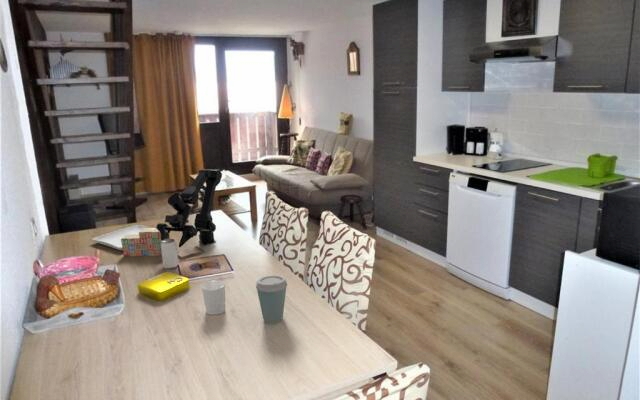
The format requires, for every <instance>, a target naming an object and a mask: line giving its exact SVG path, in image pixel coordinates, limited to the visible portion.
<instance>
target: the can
mask: <svg viewBox="0 0 640 400" xmlns="http://www.w3.org/2000/svg"><path fill="white" fill-rule="evenodd" d="M161 242H162V243H161V251H162V256H161V257H162V262H163V263H162V264H163V268H165V269H175V268H177V267H178V266H179V257H178V255H177V252H178V247H177V243H176V241H175V239H174V238H170V239H165V240H163V241H161ZM177 265H178V266H177Z"/></svg>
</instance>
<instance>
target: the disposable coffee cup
mask: <svg viewBox="0 0 640 400" xmlns="http://www.w3.org/2000/svg"><path fill="white" fill-rule="evenodd" d="M287 287H288V282H287V279H286V277H284V276H282V275H275V274H273V275H265V276H262V277H260V278H259V279H258V280H257V281H256V282H255V289H256V291H257V295H258V296H257V297H258V300H259V306H260V310H261V315H262V319H263V322H265V323H266V324H271V325H272V324H277V323H280V322H282V321H283V318H284V309H285V303H286V302H285V301H286V294H287V293H286V292H287Z"/></svg>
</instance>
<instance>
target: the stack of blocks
mask: <svg viewBox="0 0 640 400" xmlns="http://www.w3.org/2000/svg"><path fill="white" fill-rule="evenodd" d="M167 239H171V238H170V235H169V237H168V238H167ZM121 242H122V248H123V250H122V253H123V257H147V256H149V257H150V256H152V257H157V256H159V257H160V256H161V257H162V251H161V233H160V231H158V229H157V228H156V227H150V228H143V229H142V230H141V231H140V232H139V234H127V235H125V236H124V237H123V238H121Z"/></svg>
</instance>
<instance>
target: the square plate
mask: <svg viewBox="0 0 640 400" xmlns="http://www.w3.org/2000/svg"><path fill="white" fill-rule="evenodd" d="M143 228H151V227H150V226H146V225H140V224H134V225H132V226H127V227H124V228H121V229H117V230H115V231H111V232H108V233H104V234H103V235H99V236H95V237H93V238H92V239H91V240H92V241H93V242H95V243H97V244H101V245H104V246H107V247H110V248H113V249H116V250H118V251H123V248H122V242H121V238H123V237H124V236H125V235H127V234H139V232H140V231H141V230H142V229H143Z"/></svg>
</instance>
